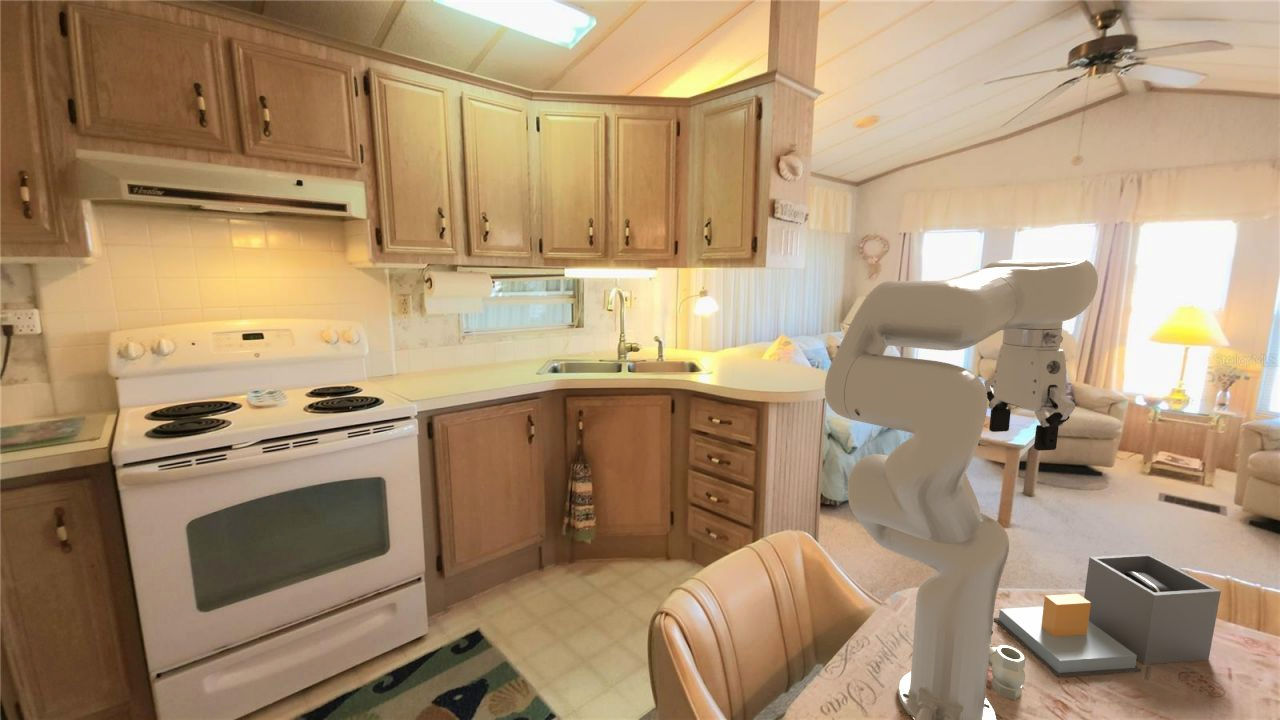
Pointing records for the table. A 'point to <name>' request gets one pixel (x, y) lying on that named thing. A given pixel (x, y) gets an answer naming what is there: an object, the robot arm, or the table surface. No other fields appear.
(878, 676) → the table surface
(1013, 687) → the valve
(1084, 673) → the mat
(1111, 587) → the tub
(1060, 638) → the lid
